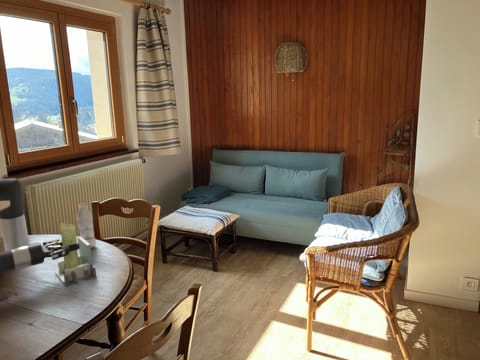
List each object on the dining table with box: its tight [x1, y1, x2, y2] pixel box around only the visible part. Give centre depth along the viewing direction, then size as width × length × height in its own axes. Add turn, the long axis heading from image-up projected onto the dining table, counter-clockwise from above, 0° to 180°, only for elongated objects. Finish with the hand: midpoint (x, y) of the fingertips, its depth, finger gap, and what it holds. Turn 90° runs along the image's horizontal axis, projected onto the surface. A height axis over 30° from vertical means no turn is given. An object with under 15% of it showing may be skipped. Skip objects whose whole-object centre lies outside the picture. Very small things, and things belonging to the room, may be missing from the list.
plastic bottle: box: [76, 203, 97, 249], centre depth 171 cm, size 6×7×20 cm
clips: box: [63, 264, 97, 287], centre depth 144 cm, size 2×11×4 cm, turn 129°
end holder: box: [54, 236, 94, 285], centre depth 149 cm, size 11×11×12 cm
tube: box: [59, 222, 79, 269], centre depth 147 cm, size 6×5×20 cm
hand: (76, 243), depth 149 cm, fingers closed on tube, 5 cm apart
